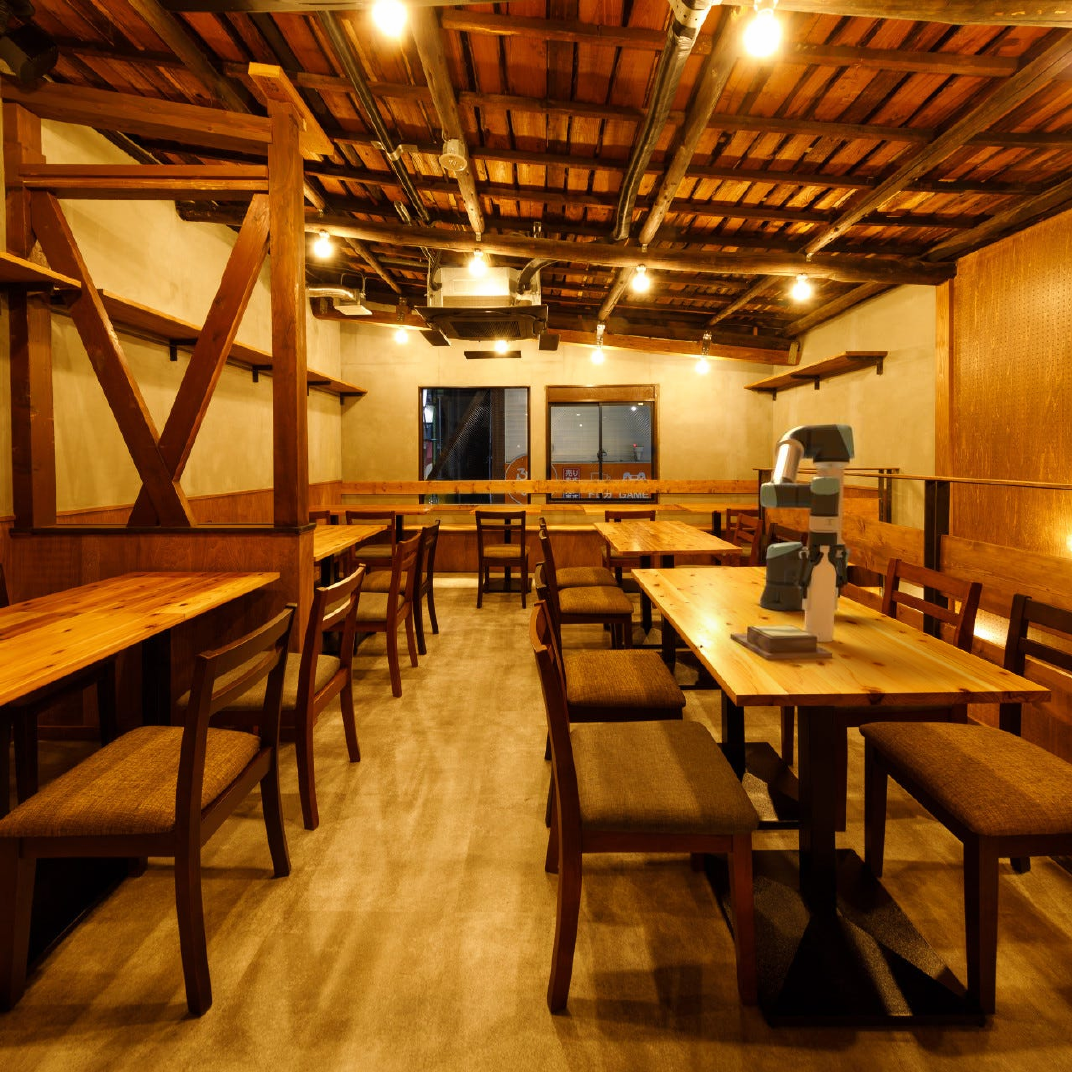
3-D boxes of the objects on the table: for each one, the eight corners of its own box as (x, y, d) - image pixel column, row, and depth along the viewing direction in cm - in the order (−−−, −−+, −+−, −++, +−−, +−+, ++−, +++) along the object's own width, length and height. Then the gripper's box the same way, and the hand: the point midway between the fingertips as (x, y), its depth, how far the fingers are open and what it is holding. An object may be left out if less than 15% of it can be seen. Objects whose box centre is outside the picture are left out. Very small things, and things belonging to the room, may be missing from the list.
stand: (730, 637, 184) (730, 619, 184) (788, 636, 186) (789, 617, 186) (766, 659, 163) (767, 638, 162) (832, 657, 165) (833, 636, 164)
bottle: (820, 643, 178) (825, 538, 175) (797, 637, 185) (801, 535, 182) (839, 640, 182) (844, 536, 179) (816, 634, 189) (820, 534, 186)
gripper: (796, 532, 175) (792, 613, 178) (865, 531, 178) (860, 611, 180) (782, 530, 183) (779, 607, 185) (848, 529, 185) (844, 605, 187)
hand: (819, 609), depth 183 cm, fingers closed on bottle, 8 cm apart
